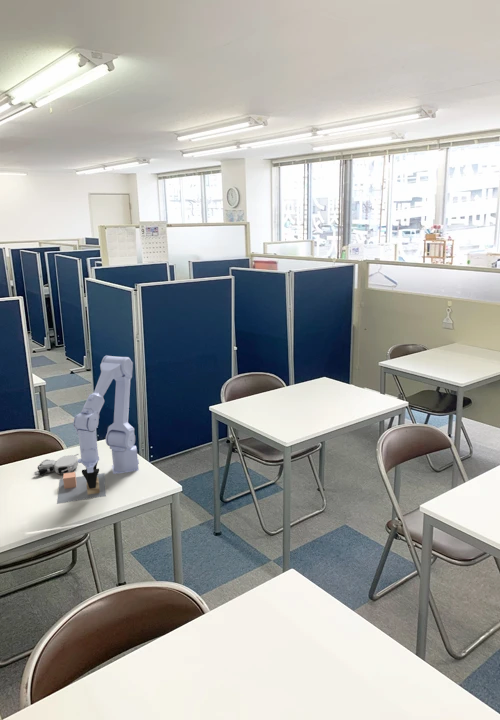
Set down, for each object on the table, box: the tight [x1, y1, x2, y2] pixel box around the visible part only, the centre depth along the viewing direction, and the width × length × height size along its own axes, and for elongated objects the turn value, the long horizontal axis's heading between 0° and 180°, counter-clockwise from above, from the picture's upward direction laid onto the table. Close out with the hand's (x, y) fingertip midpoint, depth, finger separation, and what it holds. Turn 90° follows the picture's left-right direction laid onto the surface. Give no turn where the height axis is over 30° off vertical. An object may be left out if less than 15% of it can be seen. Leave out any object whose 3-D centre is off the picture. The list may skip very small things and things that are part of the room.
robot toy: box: [34, 453, 80, 476], centre depth 209 cm, size 12×4×15 cm
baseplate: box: [56, 472, 107, 505], centre depth 195 cm, size 16×18×1 cm
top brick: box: [87, 477, 100, 495], centre depth 192 cm, size 4×4×4 cm
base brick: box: [62, 471, 77, 489], centre depth 196 cm, size 4×4×4 cm
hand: (92, 482), depth 192 cm, fingers open, 7 cm apart
